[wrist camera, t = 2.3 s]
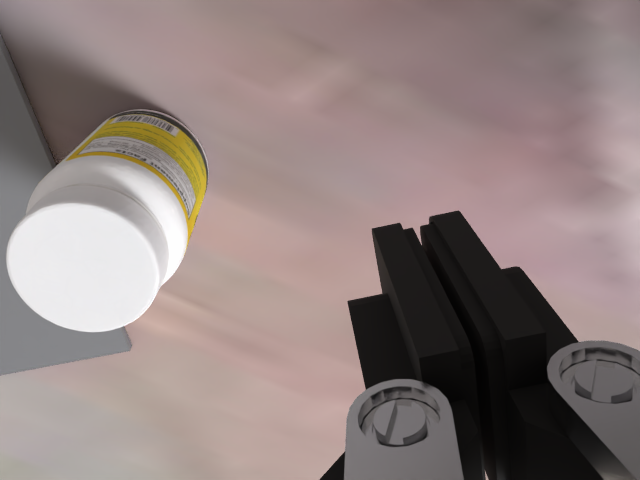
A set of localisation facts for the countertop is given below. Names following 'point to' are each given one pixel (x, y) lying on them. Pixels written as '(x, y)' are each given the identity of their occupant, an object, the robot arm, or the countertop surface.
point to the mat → (3, 215)
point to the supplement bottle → (110, 222)
